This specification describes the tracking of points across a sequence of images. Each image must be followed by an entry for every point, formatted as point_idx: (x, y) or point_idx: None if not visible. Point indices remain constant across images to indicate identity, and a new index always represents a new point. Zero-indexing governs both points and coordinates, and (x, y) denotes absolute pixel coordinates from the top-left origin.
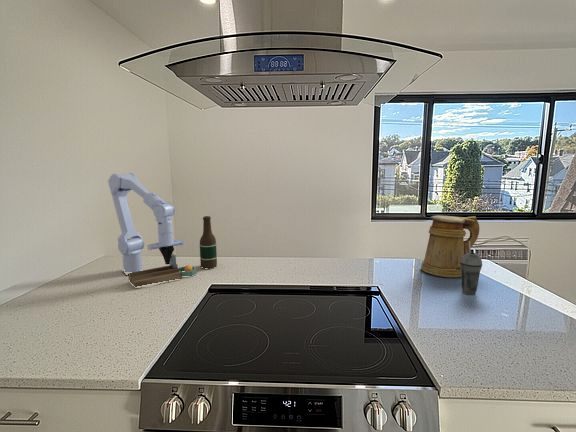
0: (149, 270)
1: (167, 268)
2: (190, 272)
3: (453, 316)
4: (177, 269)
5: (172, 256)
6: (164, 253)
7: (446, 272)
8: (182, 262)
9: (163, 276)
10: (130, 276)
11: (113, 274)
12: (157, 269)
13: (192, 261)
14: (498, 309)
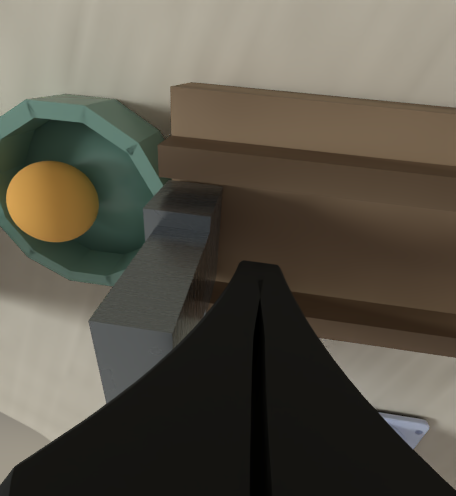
0: (423, 328)
1: None
2: (55, 100)
3: None
4: (179, 146)
5: (163, 321)
6: (398, 449)
7: None
8: (69, 396)
9: (396, 107)
10: None
11: (443, 470)
12: (337, 312)
13: (13, 377)
14: None
